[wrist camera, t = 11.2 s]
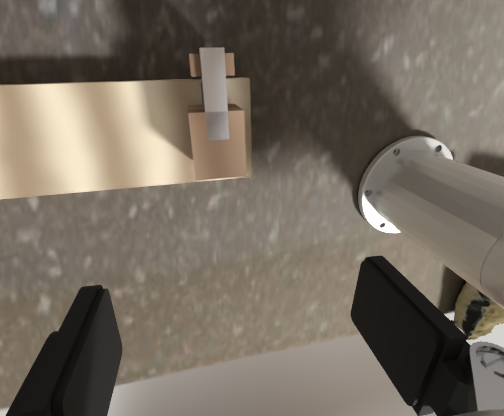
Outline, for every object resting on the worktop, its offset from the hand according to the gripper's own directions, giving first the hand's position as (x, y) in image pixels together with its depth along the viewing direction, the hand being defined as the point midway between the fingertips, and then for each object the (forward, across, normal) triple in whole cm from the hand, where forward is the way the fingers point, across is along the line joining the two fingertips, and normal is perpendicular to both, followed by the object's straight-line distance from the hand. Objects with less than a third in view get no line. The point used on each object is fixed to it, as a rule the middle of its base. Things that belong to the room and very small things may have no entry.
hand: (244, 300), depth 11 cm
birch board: (+22, +8, -2) cm, 23 cm away
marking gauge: (+20, 0, -5) cm, 20 cm away
